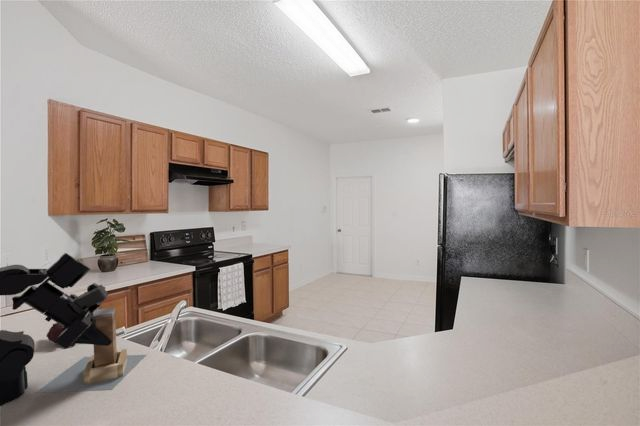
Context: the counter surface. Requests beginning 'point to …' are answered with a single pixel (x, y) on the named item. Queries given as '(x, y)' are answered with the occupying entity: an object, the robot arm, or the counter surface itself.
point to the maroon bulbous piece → (55, 332)
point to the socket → (105, 369)
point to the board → (75, 379)
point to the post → (108, 328)
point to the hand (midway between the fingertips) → (111, 339)
